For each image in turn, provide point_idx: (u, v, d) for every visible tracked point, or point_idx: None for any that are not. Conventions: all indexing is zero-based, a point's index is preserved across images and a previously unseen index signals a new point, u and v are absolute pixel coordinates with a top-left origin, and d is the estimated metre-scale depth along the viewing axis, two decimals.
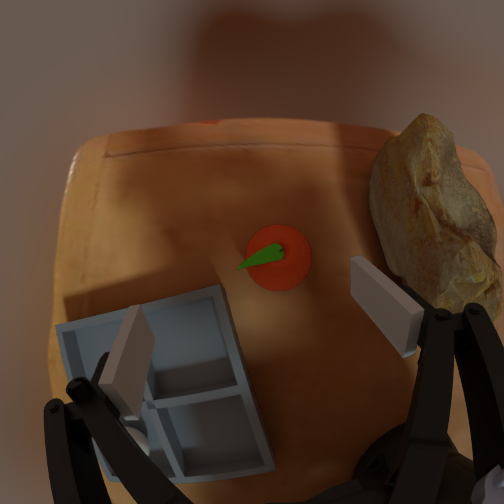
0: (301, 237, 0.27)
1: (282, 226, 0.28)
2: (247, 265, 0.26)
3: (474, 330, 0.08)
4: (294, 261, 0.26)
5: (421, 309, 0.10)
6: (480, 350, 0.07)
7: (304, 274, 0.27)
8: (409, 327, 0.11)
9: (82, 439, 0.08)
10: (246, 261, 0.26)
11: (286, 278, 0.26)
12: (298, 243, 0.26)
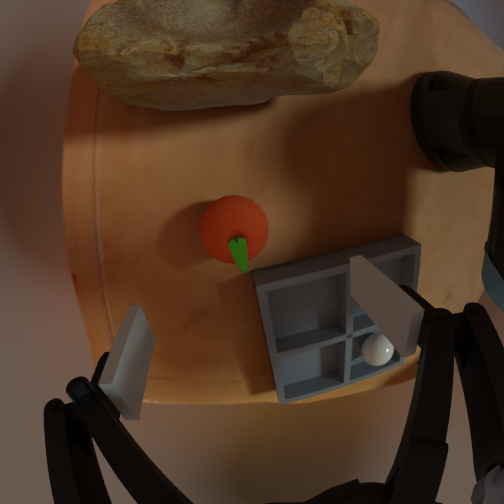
0: (219, 212, 0.25)
1: (206, 230, 0.26)
2: (246, 268, 0.27)
3: (474, 330, 0.08)
4: (248, 225, 0.25)
5: (421, 309, 0.10)
6: (480, 350, 0.07)
7: (257, 209, 0.26)
8: (409, 327, 0.11)
9: (82, 439, 0.08)
10: (242, 269, 0.27)
11: (262, 232, 0.26)
12: (229, 219, 0.25)
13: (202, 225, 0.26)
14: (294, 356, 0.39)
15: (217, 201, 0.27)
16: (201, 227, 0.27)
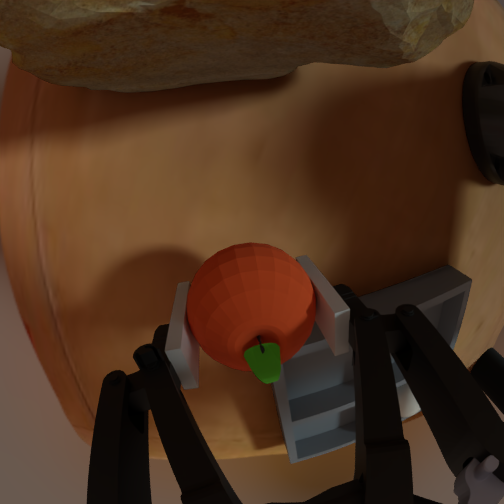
0: (225, 290, 0.12)
1: (198, 323, 0.12)
2: (275, 380, 0.14)
3: (411, 333, 0.09)
4: (286, 318, 0.12)
5: (346, 308, 0.12)
6: (423, 353, 0.08)
7: (301, 278, 0.13)
8: (335, 325, 0.12)
9: (141, 412, 0.10)
10: (268, 382, 0.14)
11: (309, 322, 0.13)
12: (245, 309, 0.12)
13: (191, 308, 0.13)
14: None
15: (219, 260, 0.13)
16: (189, 310, 0.13)
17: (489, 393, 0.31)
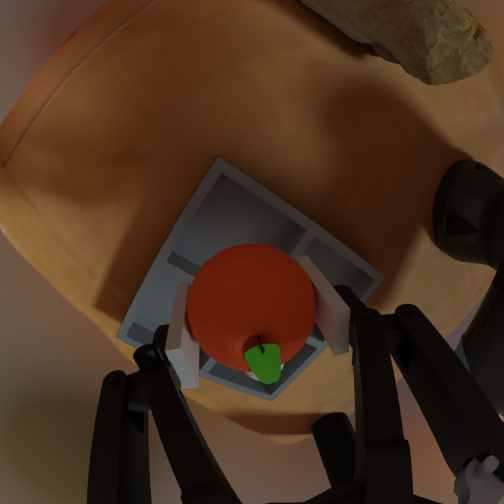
0: (225, 291, 0.12)
1: (198, 323, 0.12)
2: (275, 381, 0.14)
3: (411, 333, 0.09)
4: (286, 319, 0.12)
5: (346, 308, 0.12)
6: (423, 353, 0.08)
7: (301, 278, 0.13)
8: (335, 325, 0.12)
9: (141, 411, 0.10)
10: (268, 382, 0.14)
11: (309, 323, 0.13)
12: (246, 309, 0.11)
13: (191, 309, 0.13)
14: (173, 293, 0.30)
15: (219, 260, 0.13)
16: (189, 311, 0.13)
17: (325, 450, 0.38)
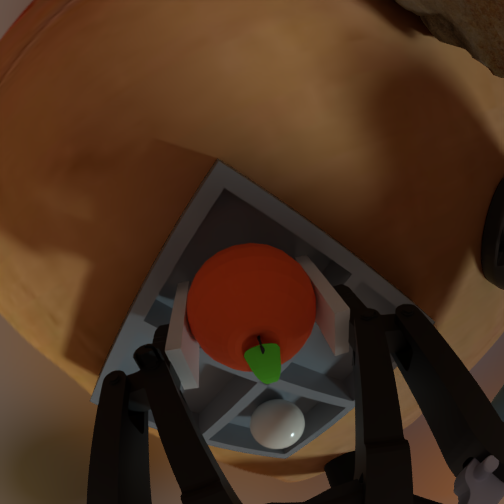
0: (225, 290, 0.12)
1: (198, 323, 0.12)
2: (275, 380, 0.14)
3: (411, 333, 0.09)
4: (286, 319, 0.12)
5: (346, 308, 0.12)
6: (423, 353, 0.08)
7: (301, 278, 0.13)
8: (335, 325, 0.12)
9: (141, 411, 0.10)
10: (268, 382, 0.14)
11: (309, 322, 0.13)
12: (246, 309, 0.12)
13: (191, 309, 0.13)
14: None
15: (219, 260, 0.13)
16: (189, 311, 0.13)
17: None
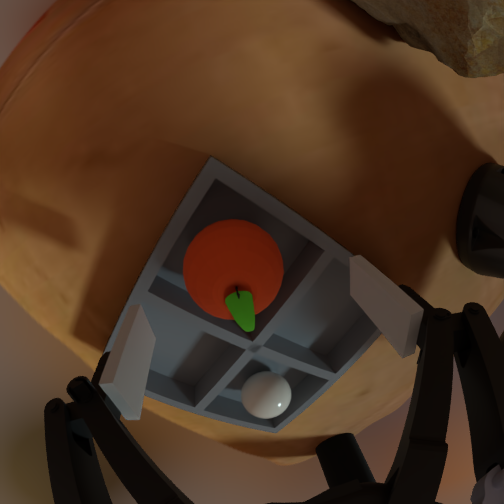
0: (211, 251, 0.16)
1: (191, 277, 0.17)
2: (252, 328, 0.18)
3: (473, 330, 0.08)
4: (255, 271, 0.16)
5: (420, 309, 0.10)
6: (479, 350, 0.07)
7: (268, 243, 0.17)
8: (408, 327, 0.11)
9: (82, 439, 0.09)
10: (246, 329, 0.18)
11: (276, 278, 0.17)
12: (225, 264, 0.16)
13: (186, 268, 0.17)
14: (159, 323, 0.24)
15: (207, 231, 0.18)
16: (184, 270, 0.18)
17: (331, 474, 0.33)
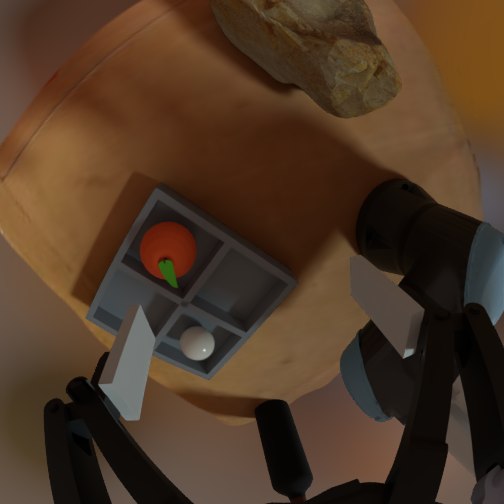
0: (152, 238, 0.29)
1: (142, 253, 0.30)
2: (176, 284, 0.31)
3: (474, 330, 0.08)
4: (174, 250, 0.29)
5: (421, 309, 0.10)
6: (480, 350, 0.07)
7: (184, 235, 0.31)
8: (409, 327, 0.11)
9: (81, 439, 0.08)
10: (172, 285, 0.31)
11: (187, 254, 0.31)
12: (158, 245, 0.29)
13: (140, 248, 0.30)
14: (128, 286, 0.37)
15: (152, 227, 0.31)
16: (140, 249, 0.31)
17: (263, 432, 0.47)
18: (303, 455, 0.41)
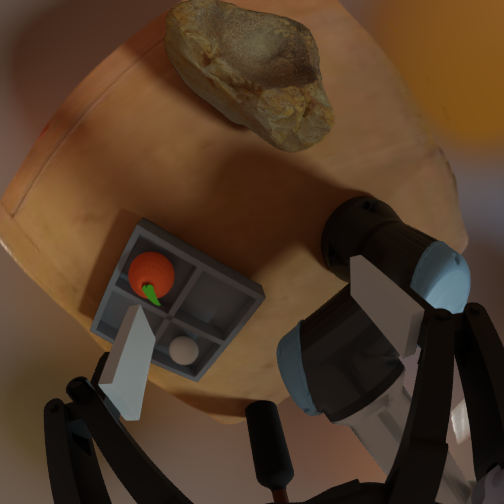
0: (136, 267, 0.36)
1: (129, 278, 0.36)
2: (158, 303, 0.37)
3: (474, 330, 0.08)
4: (153, 276, 0.35)
5: (421, 309, 0.10)
6: (480, 350, 0.07)
7: (161, 263, 0.37)
8: (409, 327, 0.11)
9: (81, 439, 0.08)
10: (155, 303, 0.37)
11: (165, 279, 0.37)
12: (140, 273, 0.35)
13: (128, 274, 0.37)
14: (124, 303, 0.43)
15: (136, 258, 0.37)
16: (128, 275, 0.37)
17: (250, 430, 0.52)
18: (285, 451, 0.45)
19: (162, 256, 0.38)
